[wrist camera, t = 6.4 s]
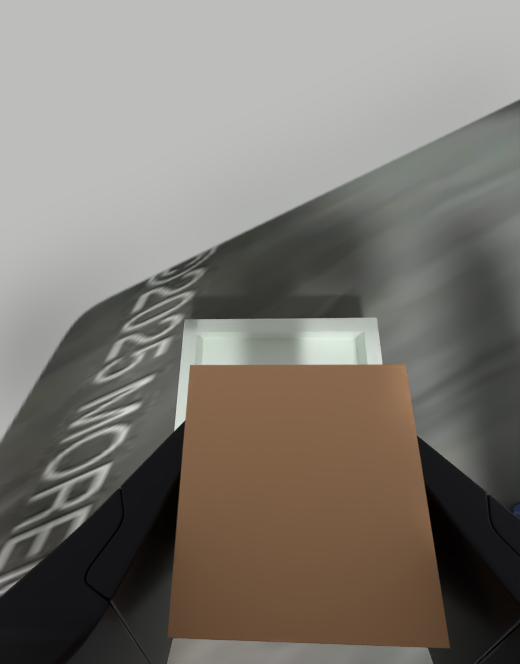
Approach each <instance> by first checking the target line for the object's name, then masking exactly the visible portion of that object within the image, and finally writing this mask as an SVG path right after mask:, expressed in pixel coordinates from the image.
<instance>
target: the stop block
mask: <svg viewBox="0 0 520 664" xmlns="http://www.w3.org/2000/svg"><path fill="white" fill-rule="evenodd" d="M167 638H186V639H213V640H239V641H266V642H293V643H320V644H346V645H373V646H400V647H427V648H450V644H449V638H448V631H447V625H446V619H445V612H444V606H443V600H442V593H441V587H440V580H439V574H438V568H437V561H436V555H435V549H434V542H433V536H432V529H431V523H430V517H429V510H428V504H427V498H426V491H425V485H424V478H423V472H422V466H421V459H420V453H419V447H418V440H417V434H416V427H415V421H414V415H413V408H412V402H411V396H410V389H409V383H408V376H407V370H406V364H368V365H190V370H189V382H188V394H187V406H186V418H185V430H184V442H183V455H182V467H181V479H180V491H179V503H178V515H177V527H176V539H175V551H174V563H173V575H172V587H171V600H170V612H169V624H168V636H167Z"/></svg>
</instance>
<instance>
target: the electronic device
mask: <svg viewBox="0 0 520 664" xmlns="http://www.w3.org/2000/svg"><path fill="white" fill-rule="evenodd" d="M513 514H515V515H516V516H517V517H518V518H520V502H519V504H517V505H516V506H515V507H514V508H513Z"/></svg>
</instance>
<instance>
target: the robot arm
mask: <svg viewBox="0 0 520 664" xmlns="http://www.w3.org/2000/svg"><path fill="white" fill-rule="evenodd" d="M184 430H185V421H184V422H183V423H182V424H181V425H180V426H179V427H178V428H177V429H176V430H175V431H174V432H173V433H172V434H171V435H170V436H169V437H168V438H167V439H166V440H165V441H164V442H163V443H162V444H161V445H160V446H159V447H158V448H157V449H156V451H155V452H154V453H153V454H152V455H151V456H150V457H149V458H148V459H147V460H146V461H145V462H144V463H143V464H142V465H141V466H140V467H139V468H138V469H137V470H136V471H135V472H134V473H133V474H132V475H131V476H130V477H129V478H128V479H127V480H126V481H125V482H124V483H123V484H122V485H121V489H120V488H119V489H117V490H116V491H115V492H114V493H113V494H112V495H111V497H110V498H109V499H108V500H107V501H106V502H105V503H104V504H103V505H102V506H101V507H100V508H98V509H97V510H96V511H95V512H94V513H93V514H92V515H91V516H90V517H89V518H88V519H87V520H86V521H85V522H84V523H83V524H82V525H81V526H80V527H79V528H78V529H76V530H75V531H74V532H73V533H72V534H71V535H70V536H69V537H68V538H67V539H65V540H64V541H63V542H62V543H61V544H60V545H59V546H58V547H57V548H55V549H54V550H53V551H52V552H51V553H50V554H49V555H47V556H46V557H45V558H44V559H43V560H42V561H41V562H40V563H38V564H37V565H36V566H35V567H34V568H33V569H32V570H31V571H29V572H28V573H27V574H26V575H25V576H24V577H23V578H22V579H20V580H19V581H18V582H17V583H16V584H15V585H14V586H12V587H11V588H10V589H9V590H8V591H7V592H6V593H5V594H3V595H2V596H1V597H0V664H167V660H168V656H169V652H170V648H171V644H172V640H173V638H167V636H168V624H169V612H170V600H171V587H172V575H173V563H174V551H175V539H176V527H177V515H178V503H179V491H180V479H181V467H182V455H183V442H184ZM417 440H418V447H419V453H420V459H421V466H422V472H423V478H424V485H425V491H426V498H427V504H428V510H429V517H430V523H431V529H432V536H433V542H434V549H435V555H436V561H437V568H438V574H439V580H440V587H441V593H442V600H443V606H444V612H445V619H446V625H447V631H448V638H449V644H450V648H428V649H429V652H430V655H431V658H432V661H433V664H520V518H518V517H517V516H516V515H515V514H513V513H512V512H511V511H510V510H508V509H507V508H506V507H505V506H503V505H502V504H501V503H500V502H498V501H497V500H496V499H495V498H493V497H492V496H491V495H487V492H486V491H485V490H483V489H482V488H481V487H480V486H478V485H477V484H476V483H475V482H474V481H472V480H471V479H470V478H469V477H467V476H466V475H465V474H464V473H463V472H461V471H460V470H459V469H458V468H456V467H455V466H454V465H453V464H451V463H450V462H449V461H448V460H447V459H445V458H444V457H443V456H442V455H440V454H439V453H438V452H437V451H435V450H434V449H433V448H432V447H431V446H429V445H428V444H427V443H426V442H424V441H423V440H422V439H421V438H419V437H418V436H417Z"/></svg>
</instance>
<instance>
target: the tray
mask: <svg viewBox="0 0 520 664" xmlns="http://www.w3.org/2000/svg"><path fill="white" fill-rule="evenodd" d="M368 364H382V356H381V348H380V340H379V333H378V325H377V318H297V319H185V322H184V333H183V344H182V354H181V365H180V376H179V387H178V398H177V408H176V419H175V430H176V429H177V428H178V427H179V426H180V425H181V424H182V423H183V422H184V421H185V418H186V406H187V394H188V382H189V370H190V365H368ZM175 430H174V431H175Z"/></svg>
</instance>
